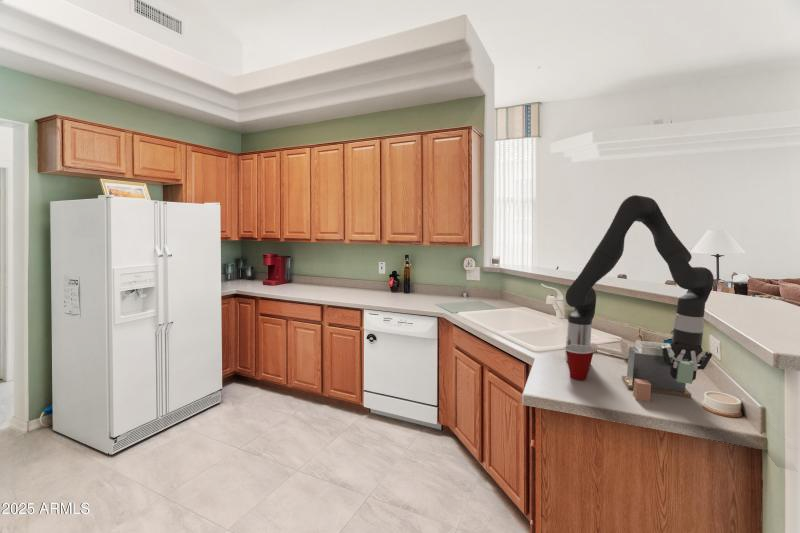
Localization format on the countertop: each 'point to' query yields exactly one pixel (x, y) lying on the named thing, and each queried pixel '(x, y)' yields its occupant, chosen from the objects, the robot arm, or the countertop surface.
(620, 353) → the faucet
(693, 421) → the countertop surface
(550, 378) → the countertop surface
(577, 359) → the plastic cup
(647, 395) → the rust block
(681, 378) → the sage block
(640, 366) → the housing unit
